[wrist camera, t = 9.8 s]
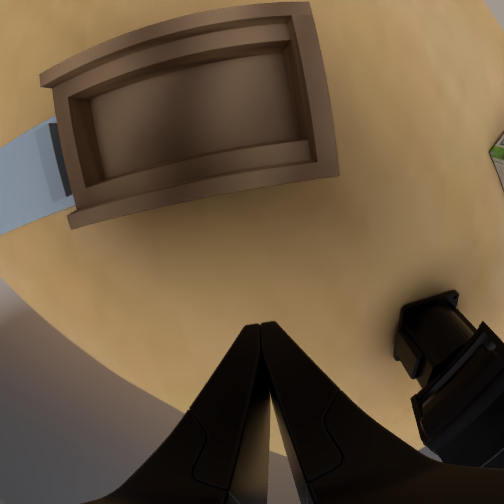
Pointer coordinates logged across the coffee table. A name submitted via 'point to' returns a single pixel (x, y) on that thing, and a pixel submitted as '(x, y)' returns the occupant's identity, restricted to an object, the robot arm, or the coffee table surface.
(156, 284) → the coffee table surface
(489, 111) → the coffee table surface
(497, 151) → the syrup box
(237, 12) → the pencil box
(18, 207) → the cover plate
